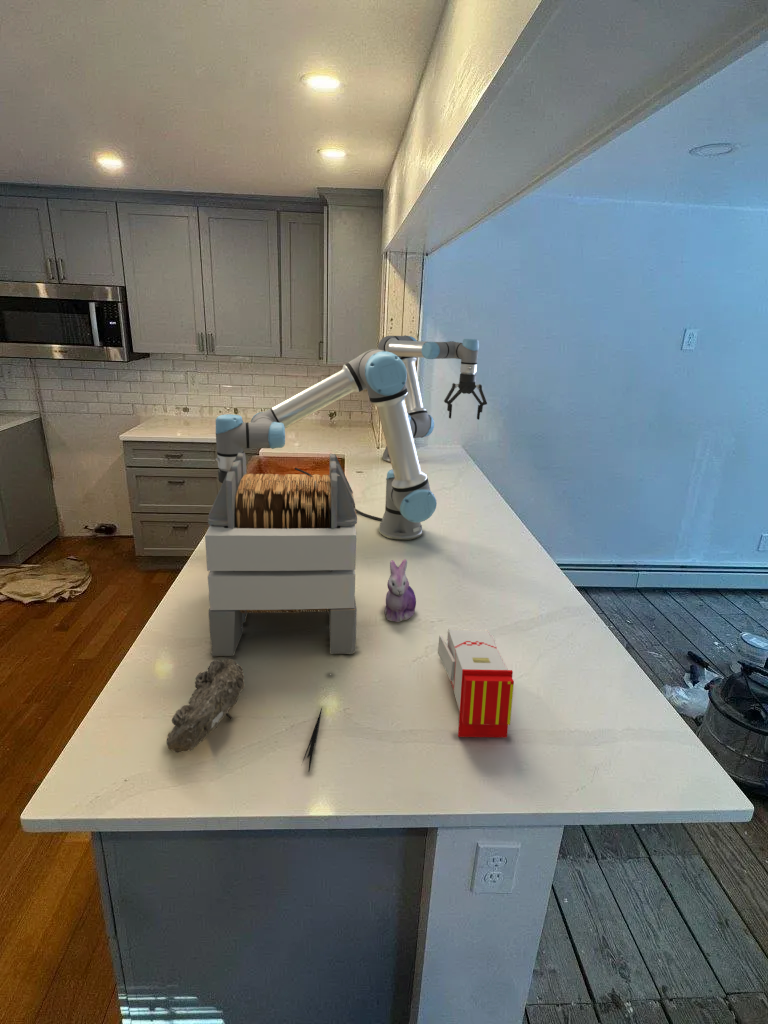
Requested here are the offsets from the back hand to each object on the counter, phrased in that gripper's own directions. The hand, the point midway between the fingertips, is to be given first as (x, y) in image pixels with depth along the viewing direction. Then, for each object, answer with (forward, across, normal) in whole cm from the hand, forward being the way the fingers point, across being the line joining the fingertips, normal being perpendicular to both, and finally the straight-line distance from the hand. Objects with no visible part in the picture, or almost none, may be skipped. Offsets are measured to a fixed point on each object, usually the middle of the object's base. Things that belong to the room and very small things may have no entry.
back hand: (463, 418), depth 272 cm
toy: (+26, -22, -172) cm, 176 cm away
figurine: (+26, -36, -141) cm, 148 cm away
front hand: (+20, -85, -110) cm, 140 cm away
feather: (+26, -53, -182) cm, 191 cm away
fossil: (+26, -73, -182) cm, 198 cm away
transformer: (+26, -64, -145) cm, 161 cm away
